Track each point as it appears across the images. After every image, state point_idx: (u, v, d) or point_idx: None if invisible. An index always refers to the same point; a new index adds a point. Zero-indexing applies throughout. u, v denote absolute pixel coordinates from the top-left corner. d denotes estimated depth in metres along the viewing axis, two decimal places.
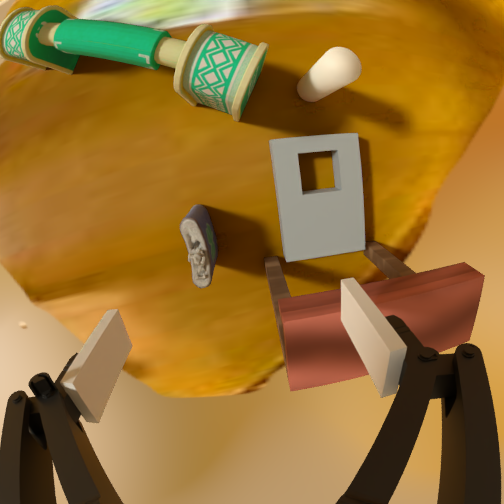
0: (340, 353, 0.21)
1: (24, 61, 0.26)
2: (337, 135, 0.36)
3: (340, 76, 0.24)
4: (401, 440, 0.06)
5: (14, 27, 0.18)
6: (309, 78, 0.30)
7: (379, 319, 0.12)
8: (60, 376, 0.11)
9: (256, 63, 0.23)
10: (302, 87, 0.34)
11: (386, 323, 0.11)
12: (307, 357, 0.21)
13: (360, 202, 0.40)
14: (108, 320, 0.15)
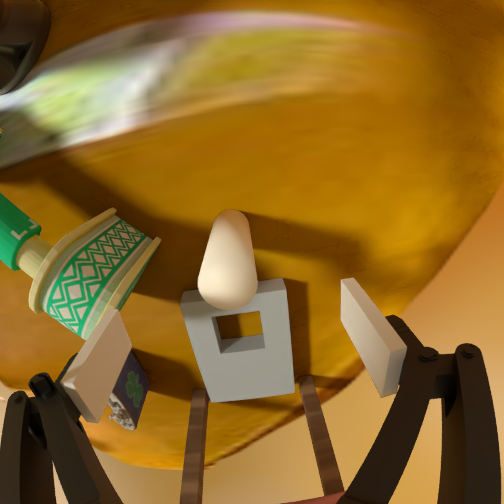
0: None
1: None
2: (259, 295, 0.33)
3: (223, 302, 0.20)
4: (401, 440, 0.06)
5: None
6: None
7: (379, 319, 0.12)
8: (60, 376, 0.11)
9: None
10: None
11: (386, 323, 0.11)
12: None
13: (288, 356, 0.36)
14: (108, 320, 0.15)
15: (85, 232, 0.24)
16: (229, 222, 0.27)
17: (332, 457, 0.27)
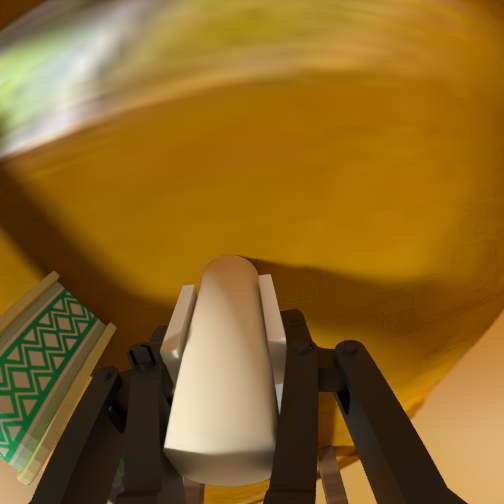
0: None
1: None
2: None
3: (218, 480, 0.08)
4: (303, 428, 0.08)
5: None
6: None
7: (273, 311, 0.14)
8: None
9: (28, 483, 0.09)
10: None
11: (277, 315, 0.14)
12: None
13: None
14: (189, 294, 0.17)
15: (5, 329, 0.13)
16: (226, 293, 0.15)
17: None
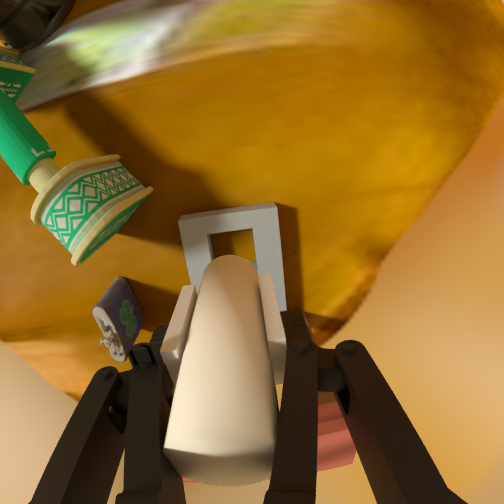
0: None
1: None
2: (252, 212, 0.35)
3: (218, 480, 0.08)
4: (303, 428, 0.08)
5: None
6: None
7: (273, 311, 0.14)
8: None
9: (85, 246, 0.24)
10: None
11: (277, 315, 0.14)
12: None
13: (280, 281, 0.39)
14: (189, 294, 0.17)
15: (93, 164, 0.28)
16: (226, 292, 0.15)
17: None
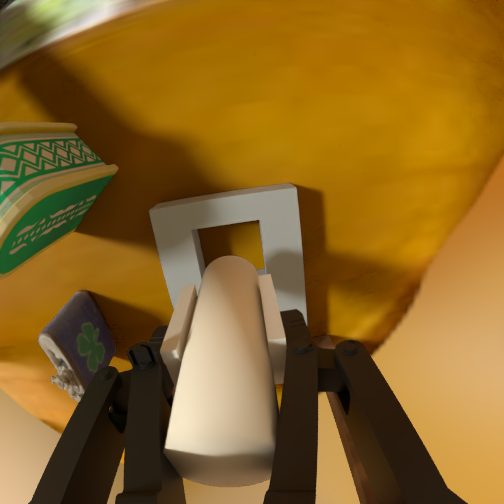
0: None
1: None
2: (258, 195, 0.23)
3: (218, 480, 0.08)
4: (303, 428, 0.08)
5: None
6: None
7: (273, 311, 0.14)
8: None
9: None
10: None
11: (277, 315, 0.14)
12: None
13: (300, 297, 0.26)
14: (189, 294, 0.17)
15: (28, 131, 0.16)
16: (226, 294, 0.15)
17: None
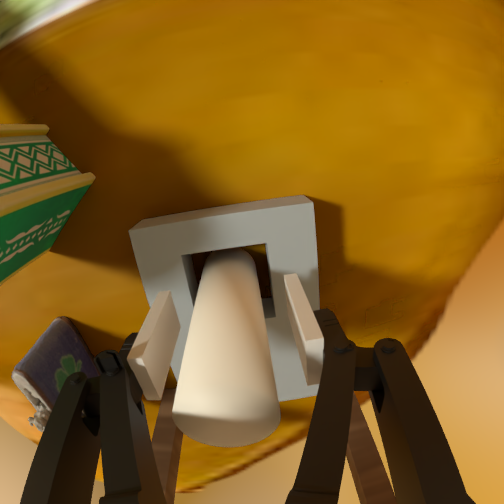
0: None
1: None
2: (265, 212, 0.18)
3: (220, 439, 0.10)
4: (334, 429, 0.07)
5: None
6: None
7: (306, 311, 0.13)
8: (119, 355, 0.13)
9: None
10: None
11: (311, 315, 0.13)
12: None
13: None
14: (163, 300, 0.16)
15: None
16: (227, 277, 0.17)
17: (391, 499, 0.13)
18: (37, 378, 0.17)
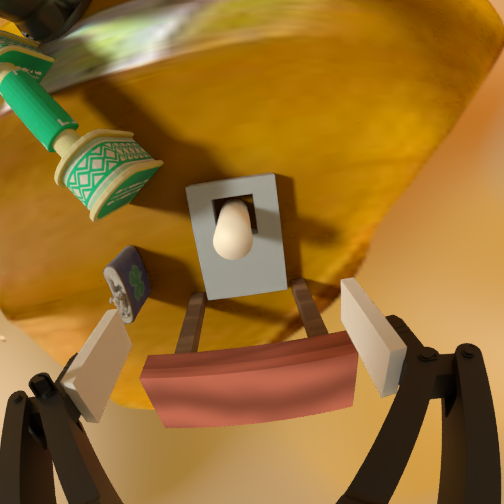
0: (196, 406, 0.23)
1: None
2: (252, 178, 0.39)
3: (230, 254, 0.30)
4: (401, 440, 0.06)
5: None
6: None
7: (379, 319, 0.12)
8: (60, 376, 0.11)
9: (105, 197, 0.27)
10: None
11: (386, 323, 0.11)
12: (168, 405, 0.23)
13: (279, 244, 0.42)
14: (108, 320, 0.15)
15: (112, 135, 0.31)
16: (233, 206, 0.37)
17: (325, 332, 0.33)
18: (121, 271, 0.37)
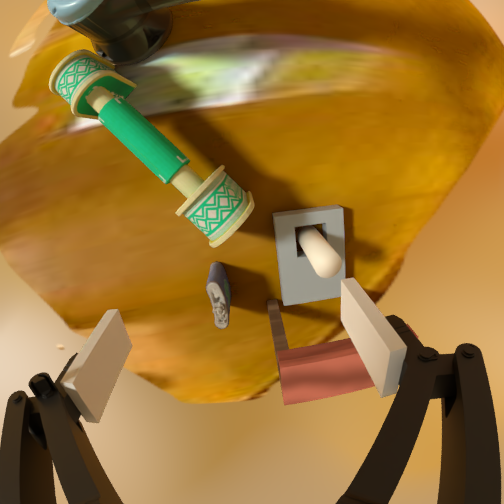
0: (314, 384, 0.34)
1: None
2: (326, 211, 0.49)
3: (325, 274, 0.41)
4: (401, 440, 0.06)
5: (69, 76, 0.29)
6: (305, 252, 0.46)
7: (379, 319, 0.12)
8: (60, 376, 0.11)
9: (234, 230, 0.38)
10: (300, 244, 0.51)
11: (386, 323, 0.11)
12: (294, 386, 0.34)
13: (342, 261, 0.52)
14: (108, 320, 0.15)
15: None
16: (315, 233, 0.48)
17: None
18: (221, 285, 0.48)
